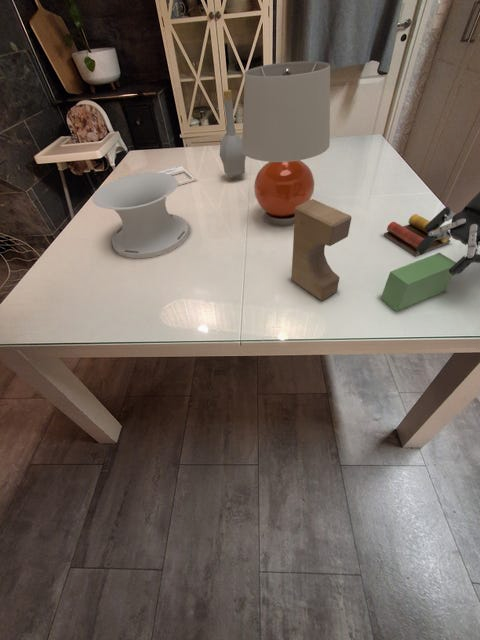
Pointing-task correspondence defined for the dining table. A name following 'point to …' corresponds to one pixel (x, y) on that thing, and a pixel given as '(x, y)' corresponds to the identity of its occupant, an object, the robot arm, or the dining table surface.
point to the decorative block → (316, 246)
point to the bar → (417, 281)
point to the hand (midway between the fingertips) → (434, 262)
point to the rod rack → (412, 235)
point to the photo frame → (177, 171)
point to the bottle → (231, 143)
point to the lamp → (285, 132)
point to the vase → (143, 214)
